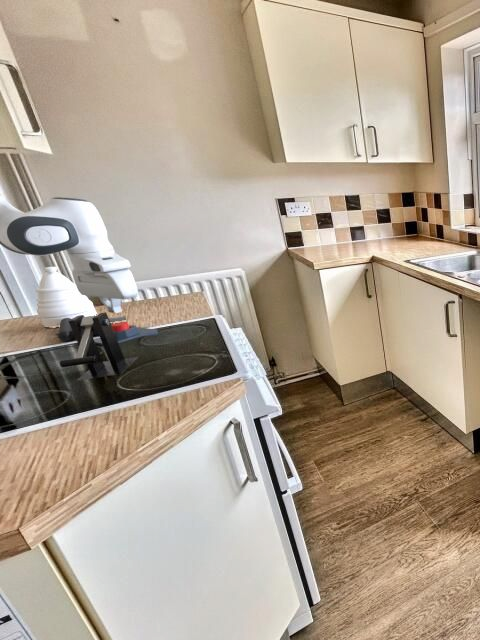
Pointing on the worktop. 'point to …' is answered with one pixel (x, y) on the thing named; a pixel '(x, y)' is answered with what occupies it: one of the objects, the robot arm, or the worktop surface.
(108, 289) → the robot arm
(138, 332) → the button box
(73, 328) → the bracket
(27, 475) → the worktop surface
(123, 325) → the button
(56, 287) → the honey pot
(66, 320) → the door handle
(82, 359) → the lever
